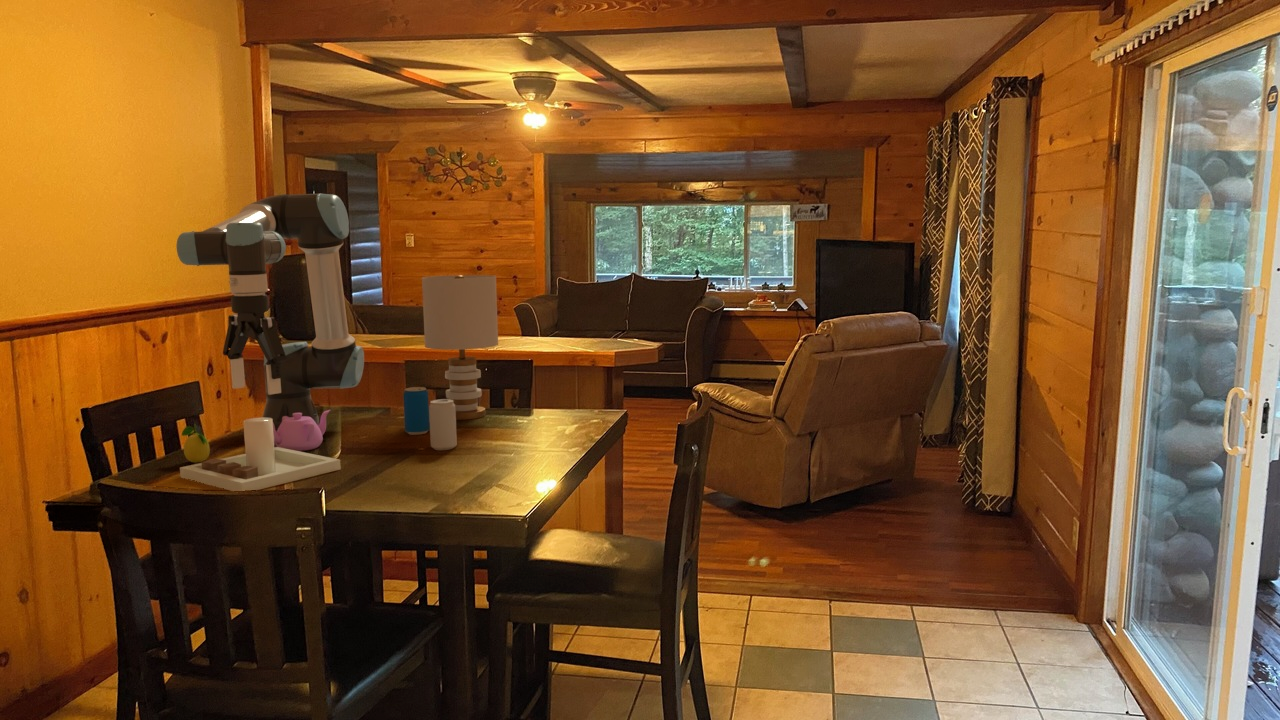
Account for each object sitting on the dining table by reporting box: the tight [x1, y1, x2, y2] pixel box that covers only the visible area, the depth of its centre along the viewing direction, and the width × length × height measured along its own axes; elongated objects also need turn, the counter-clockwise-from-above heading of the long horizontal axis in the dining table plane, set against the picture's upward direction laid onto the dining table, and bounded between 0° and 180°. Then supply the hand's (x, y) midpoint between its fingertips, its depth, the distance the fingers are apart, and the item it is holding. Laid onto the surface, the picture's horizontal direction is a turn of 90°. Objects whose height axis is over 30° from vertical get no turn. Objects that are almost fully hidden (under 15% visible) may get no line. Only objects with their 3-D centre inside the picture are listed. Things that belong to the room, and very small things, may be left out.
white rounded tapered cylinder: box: [242, 417, 276, 476], centre depth 213 cm, size 6×6×12 cm
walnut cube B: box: [217, 462, 241, 476], centre depth 208 cm, size 4×4×4 cm
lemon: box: [181, 423, 211, 464], centre depth 225 cm, size 7×6×10 cm
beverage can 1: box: [403, 386, 430, 436], centre depth 258 cm, size 6×6×12 cm
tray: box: [179, 446, 342, 492], centre depth 214 cm, size 24×24×3 cm
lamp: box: [421, 274, 499, 421], centre depth 280 cm, size 21×21×41 cm
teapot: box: [273, 409, 331, 452], centre depth 243 cm, size 12×14×9 cm
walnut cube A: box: [200, 458, 226, 473], centre depth 211 cm, size 4×4×4 cm
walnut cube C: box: [232, 466, 258, 480], centre depth 204 cm, size 4×4×4 cm
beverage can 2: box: [429, 398, 458, 451], centre depth 239 cm, size 6×6×12 cm
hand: (256, 390), depth 212 cm, fingers open, 13 cm apart
